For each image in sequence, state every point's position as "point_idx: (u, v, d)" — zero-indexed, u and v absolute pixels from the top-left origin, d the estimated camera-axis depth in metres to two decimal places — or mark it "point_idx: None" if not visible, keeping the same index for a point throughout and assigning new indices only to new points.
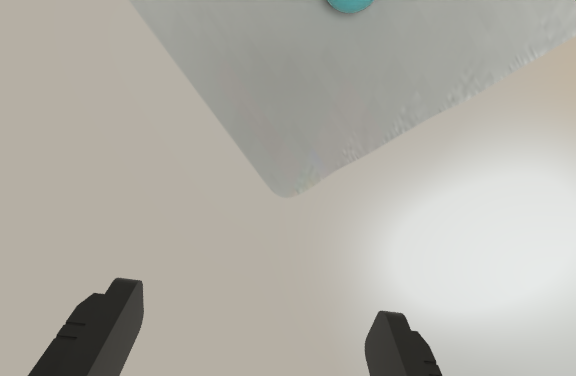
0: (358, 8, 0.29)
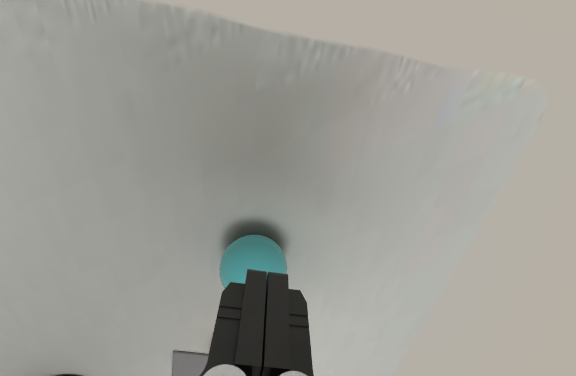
0: (267, 257, 0.24)
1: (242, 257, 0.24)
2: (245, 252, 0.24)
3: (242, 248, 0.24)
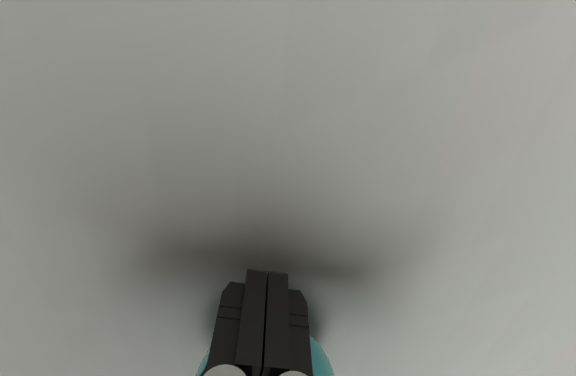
0: None
1: None
2: None
3: None
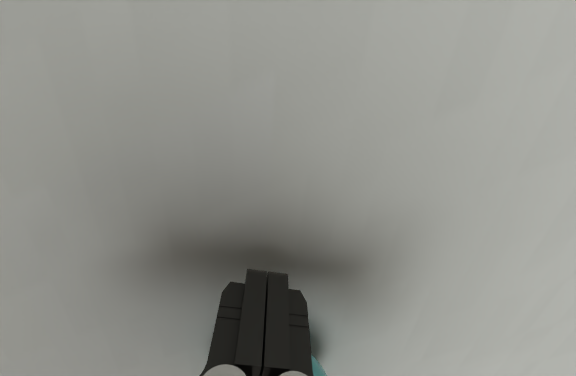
0: None
1: None
2: None
3: None
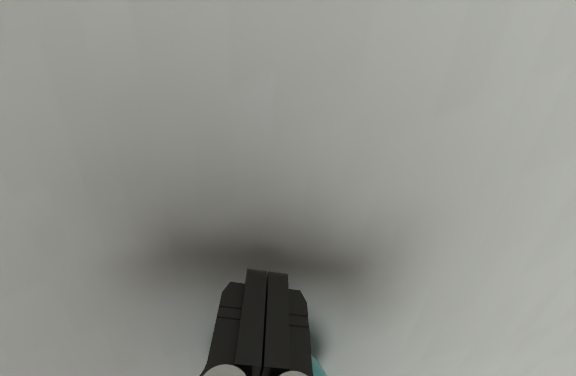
0: None
1: None
2: None
3: None
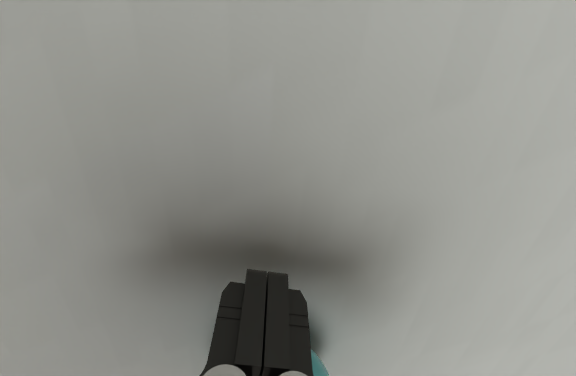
0: None
1: None
2: None
3: None
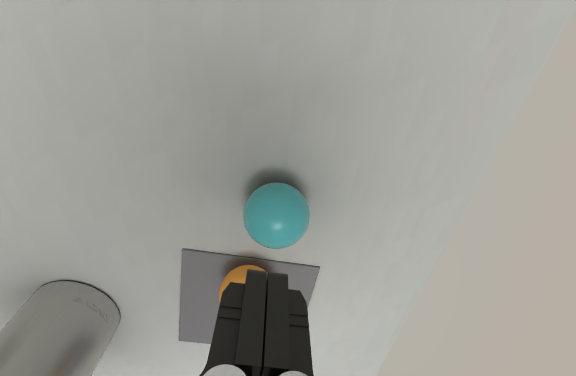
0: None
1: None
2: None
3: None
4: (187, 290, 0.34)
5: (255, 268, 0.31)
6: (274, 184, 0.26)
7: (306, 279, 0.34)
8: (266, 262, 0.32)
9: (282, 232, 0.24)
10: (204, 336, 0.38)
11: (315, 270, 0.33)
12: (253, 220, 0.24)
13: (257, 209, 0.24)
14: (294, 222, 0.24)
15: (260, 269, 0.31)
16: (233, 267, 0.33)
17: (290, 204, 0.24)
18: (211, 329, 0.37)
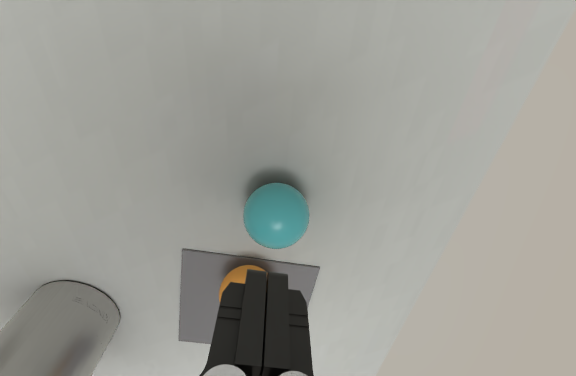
0: None
1: None
2: None
3: None
4: (187, 291, 0.34)
5: (255, 268, 0.31)
6: (274, 184, 0.26)
7: (306, 279, 0.34)
8: (266, 262, 0.32)
9: (282, 232, 0.24)
10: (203, 336, 0.38)
11: (315, 270, 0.33)
12: (253, 220, 0.24)
13: (257, 209, 0.24)
14: (293, 222, 0.24)
15: (260, 269, 0.31)
16: (233, 267, 0.33)
17: (290, 204, 0.24)
18: (210, 329, 0.37)
